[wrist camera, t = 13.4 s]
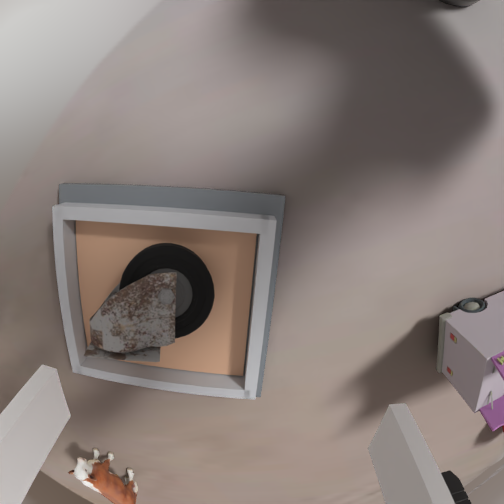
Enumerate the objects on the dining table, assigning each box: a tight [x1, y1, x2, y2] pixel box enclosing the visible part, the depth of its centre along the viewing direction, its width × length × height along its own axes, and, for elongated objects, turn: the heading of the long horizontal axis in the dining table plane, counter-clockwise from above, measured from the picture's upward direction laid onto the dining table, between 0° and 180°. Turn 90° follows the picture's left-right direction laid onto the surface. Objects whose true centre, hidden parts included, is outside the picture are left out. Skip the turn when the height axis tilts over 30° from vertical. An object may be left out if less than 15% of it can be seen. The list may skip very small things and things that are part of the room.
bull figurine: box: [68, 448, 138, 504], centre depth 35 cm, size 4×13×8 cm, turn 23°
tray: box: [52, 183, 285, 399], centre depth 30 cm, size 22×22×4 cm
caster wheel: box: [84, 243, 215, 362], centre depth 27 cm, size 7×11×10 cm
